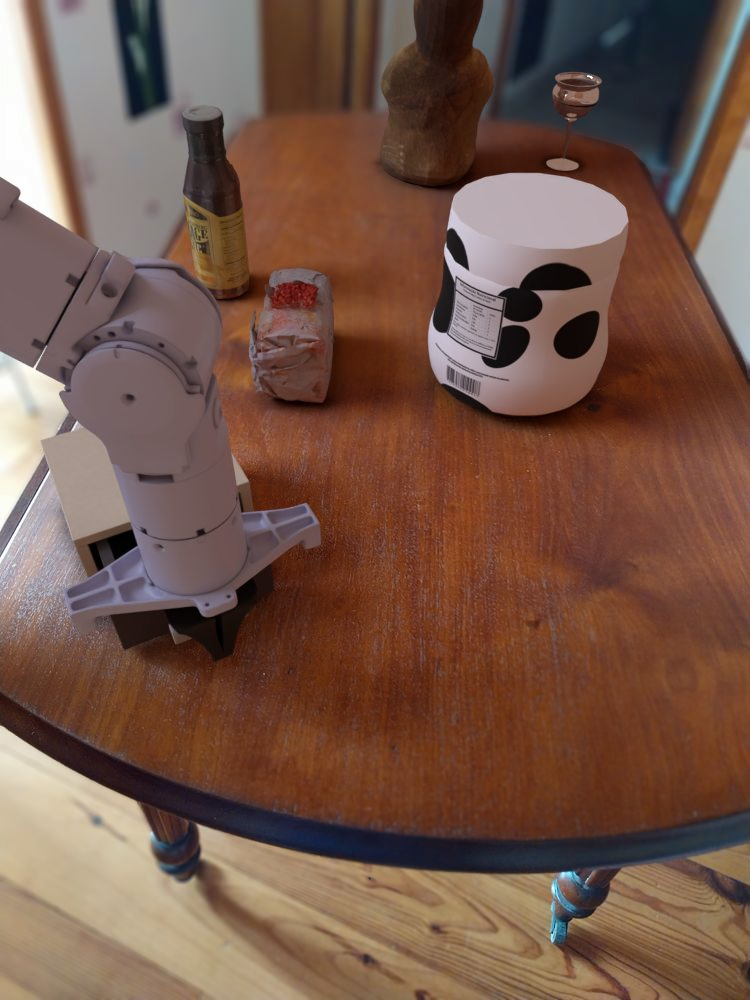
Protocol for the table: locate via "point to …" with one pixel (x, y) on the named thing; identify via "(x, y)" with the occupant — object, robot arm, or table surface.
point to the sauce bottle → (214, 206)
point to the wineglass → (573, 106)
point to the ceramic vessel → (436, 95)
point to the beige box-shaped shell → (98, 492)
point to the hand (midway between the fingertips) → (218, 646)
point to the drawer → (153, 622)
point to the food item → (294, 337)
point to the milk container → (526, 292)
